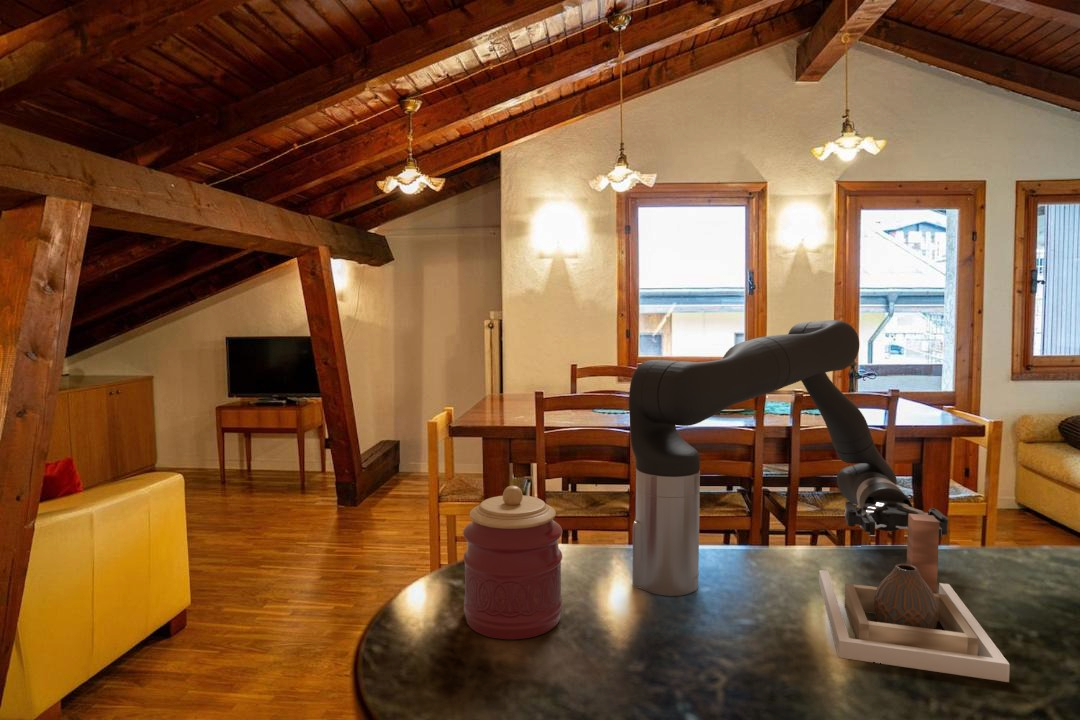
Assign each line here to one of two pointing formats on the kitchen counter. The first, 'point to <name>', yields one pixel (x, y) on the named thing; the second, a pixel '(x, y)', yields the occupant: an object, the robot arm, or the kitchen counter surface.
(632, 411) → the robot arm
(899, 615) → the vase
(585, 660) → the kitchen counter surface
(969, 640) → the square wooden tray
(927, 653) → the rail lane
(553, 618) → the canister
